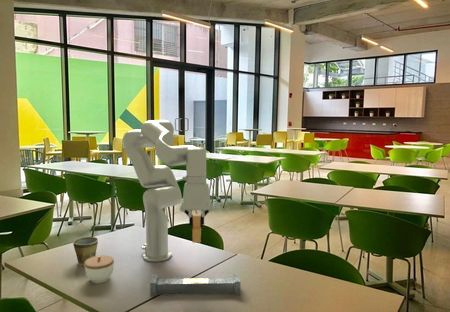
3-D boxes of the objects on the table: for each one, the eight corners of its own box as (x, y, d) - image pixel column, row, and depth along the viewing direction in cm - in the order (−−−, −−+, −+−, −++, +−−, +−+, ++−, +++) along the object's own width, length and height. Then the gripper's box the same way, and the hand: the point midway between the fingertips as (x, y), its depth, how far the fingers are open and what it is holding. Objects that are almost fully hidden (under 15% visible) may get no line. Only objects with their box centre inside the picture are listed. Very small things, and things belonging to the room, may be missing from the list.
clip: (200, 242, 138) (200, 218, 137) (192, 242, 138) (192, 218, 137) (200, 235, 146) (200, 212, 145) (193, 235, 146) (193, 212, 145)
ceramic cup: (99, 265, 155) (98, 243, 154) (74, 269, 152) (72, 246, 150) (97, 254, 167) (97, 233, 166) (74, 257, 164) (73, 236, 162)
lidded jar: (85, 288, 136) (84, 264, 135) (84, 276, 146) (83, 253, 144) (115, 283, 140) (114, 259, 139) (113, 271, 150) (112, 249, 148)
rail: (150, 296, 130) (150, 282, 129) (153, 288, 136) (152, 275, 135) (240, 294, 131) (240, 281, 131) (239, 286, 137) (239, 274, 137)
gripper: (173, 181, 135) (174, 230, 137) (218, 181, 136) (218, 229, 138) (175, 178, 142) (176, 223, 145) (217, 177, 143) (217, 223, 145)
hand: (196, 226), depth 141 cm, fingers closed on clip, 3 cm apart
